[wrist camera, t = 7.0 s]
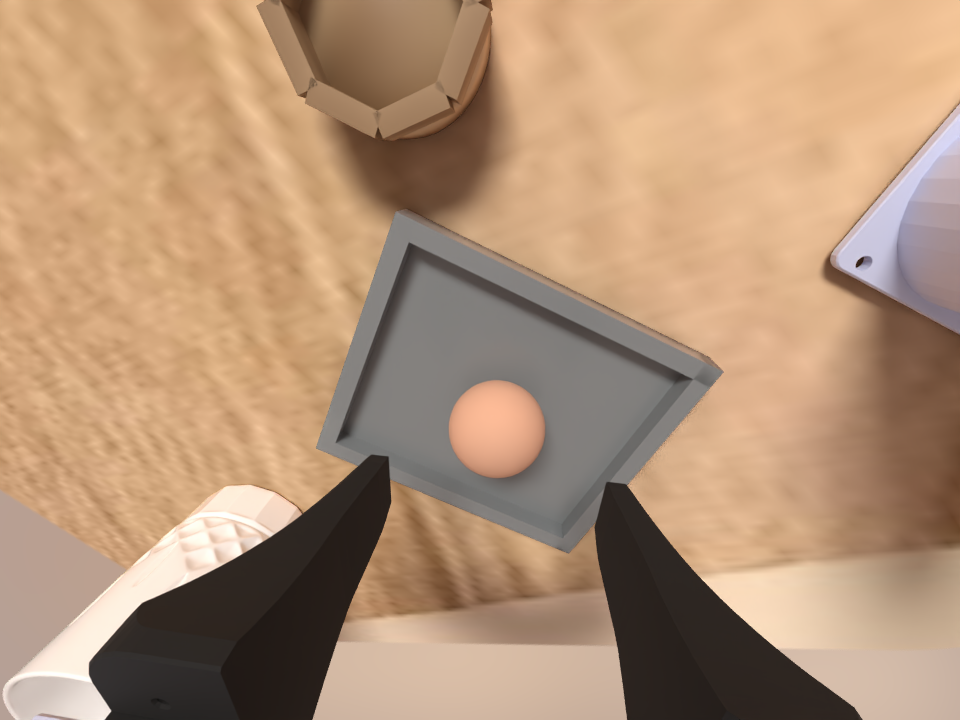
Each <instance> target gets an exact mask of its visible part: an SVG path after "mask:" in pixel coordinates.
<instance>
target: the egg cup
mask: <svg viewBox="0 0 960 720" xmlns="http://www.w3.org/2000/svg"><path fill="white" fill-rule="evenodd" d="M256 7H257V9H258V11H259V13H260V15H261V17H262V19H263V22H264V24H265V26H266V28H267V30H268V32H269V34H270V37H271V39H272V41H273V43H274V45H275V47H276V50H277V52H278V54H279V56H280V58H281V60H282V62H283V65H284V67H285V69H286V71H287V73H288V75H289V78H290V80H291V82H292V84H293V86H294V88H295V90H296V93H297V95H298V96H301V97H303V98H306V101H305V104H307V105H309V106H311V107H313V108H315V109H317V110H319V111H321V112H323V113H325V114H327V115H329V116H331V117H333V118H335V119H337V120H339V121H341V122H343V123H345V124H347V125H349V126H351V127H353V128H355V129H357V130H359V131H361V132H363V133H365V134H367V135H369V136H371V137H373V138H375V139H379V140H383V141H385V139H386V140H390V141H394V140H396V139H399V138H400V139H416V138H422V137H426V136H429V135H432V134H435V133H437V132H439V131H441V130H442V129H444V128H446V127H447V126H449V125H450V124H451V123H453V122H454V121H455V120H456V119H457V118H458V117H459V116H460V115H461V114H462V113H463V112H464V111H465V110H466V108H467V107H468V106H469V104H470V103H471V102H472V100H473V98H474V97H475V95H476V93H477V91H478V89H479V87H480V84H481V82H482V80H483V77H484V74H485V71H486V67H487V63H488V58H489V53H490V42H491V24H492V18H491V13H490V11H492V10H493V9H492V3H491V0H265V1H264V2H262V3H261V4H259V5H257V6H256Z"/></svg>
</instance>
